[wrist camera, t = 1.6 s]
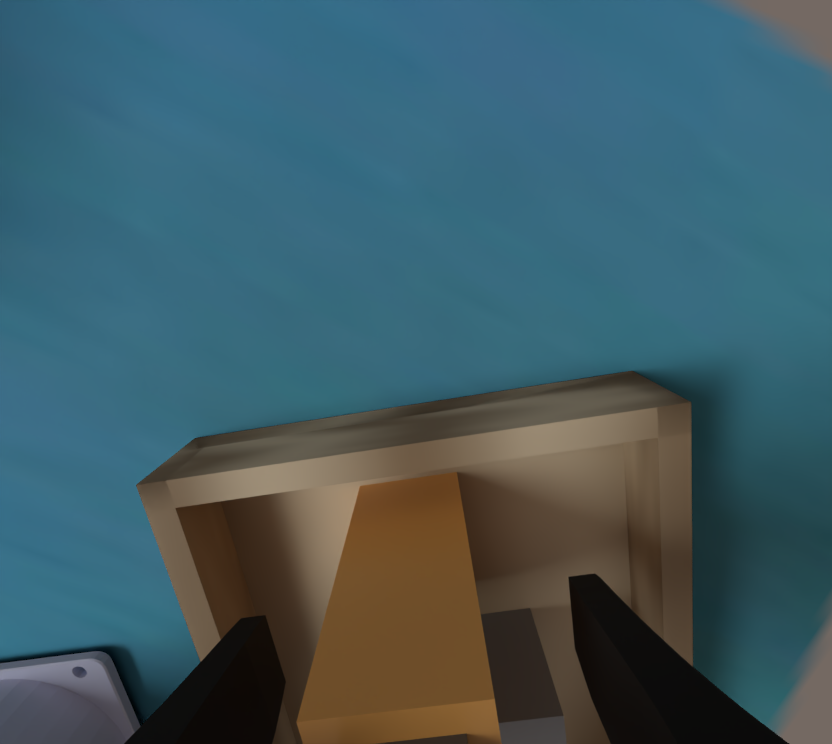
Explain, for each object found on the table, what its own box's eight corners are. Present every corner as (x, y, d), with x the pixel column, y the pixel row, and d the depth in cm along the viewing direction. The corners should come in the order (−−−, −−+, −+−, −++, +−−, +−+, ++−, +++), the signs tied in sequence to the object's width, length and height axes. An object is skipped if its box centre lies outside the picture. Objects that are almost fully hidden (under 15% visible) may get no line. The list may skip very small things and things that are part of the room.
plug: (383, 593, 14) (344, 948, 7) (360, 485, 13) (284, 767, 6) (473, 581, 14) (531, 933, 7) (456, 471, 13) (502, 743, 6)
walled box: (306, 790, 18) (284, 892, 15) (195, 438, 14) (136, 484, 11) (648, 754, 17) (694, 854, 14) (632, 371, 13) (691, 401, 10)
